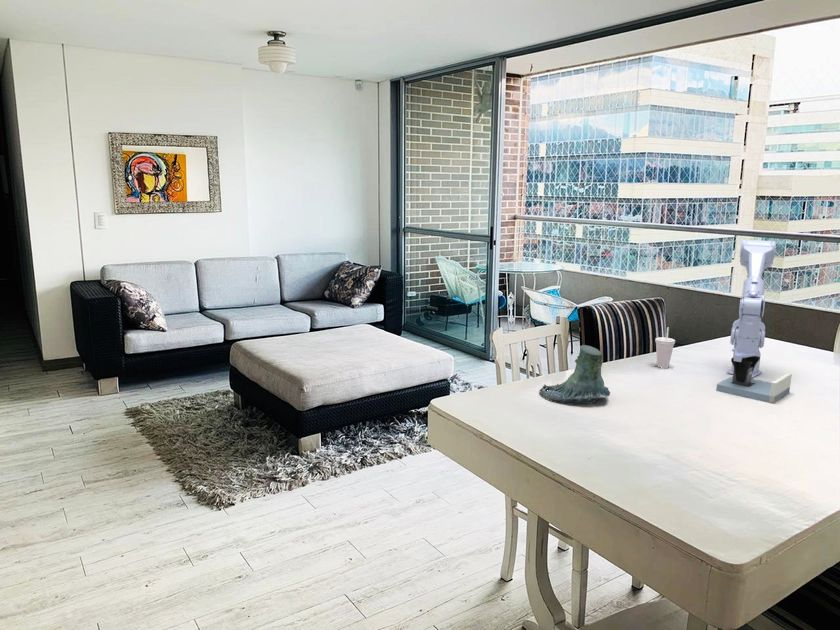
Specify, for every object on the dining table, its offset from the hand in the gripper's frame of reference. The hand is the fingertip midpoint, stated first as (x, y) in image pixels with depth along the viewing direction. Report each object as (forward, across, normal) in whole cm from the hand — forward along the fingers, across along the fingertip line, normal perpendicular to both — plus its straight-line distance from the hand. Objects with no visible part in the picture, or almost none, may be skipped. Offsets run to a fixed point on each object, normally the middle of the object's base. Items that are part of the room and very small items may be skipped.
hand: (743, 380), depth 194 cm
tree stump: (+3, +43, -31) cm, 54 cm away
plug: (+2, 0, 0) cm, 2 cm away
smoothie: (+3, -6, -28) cm, 29 cm away
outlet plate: (+3, 0, +3) cm, 4 cm away
